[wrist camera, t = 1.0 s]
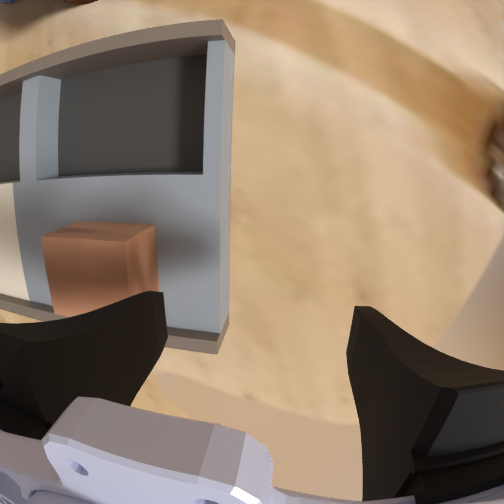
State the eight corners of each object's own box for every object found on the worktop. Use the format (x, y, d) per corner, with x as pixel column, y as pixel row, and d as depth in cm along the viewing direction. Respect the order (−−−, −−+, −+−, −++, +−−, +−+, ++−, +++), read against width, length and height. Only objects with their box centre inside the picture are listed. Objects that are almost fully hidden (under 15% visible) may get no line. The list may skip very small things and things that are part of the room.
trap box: (228, 324, 24) (215, 358, 20) (-21, 281, 27) (-47, 295, 23) (235, 41, 18) (220, 15, 14) (-34, 106, 21) (-64, 107, 17)
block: (160, 299, 20) (134, 329, 17) (86, 289, 21) (54, 313, 17) (155, 224, 19) (124, 241, 15) (78, 221, 20) (40, 236, 16)
